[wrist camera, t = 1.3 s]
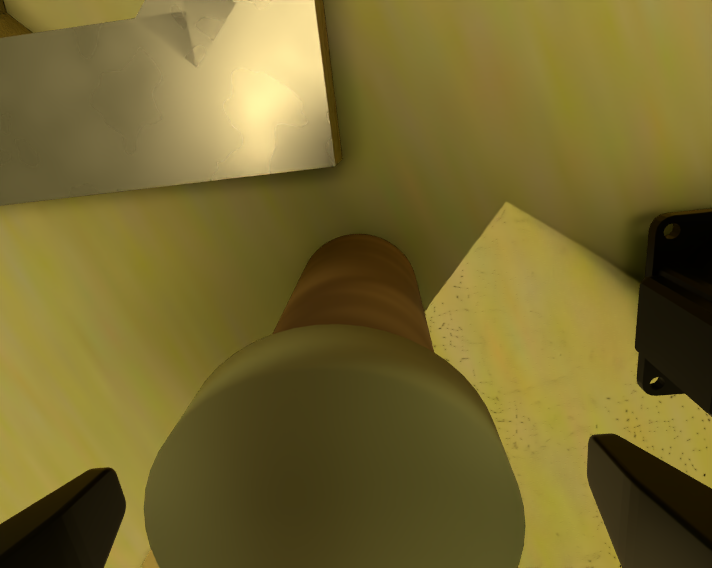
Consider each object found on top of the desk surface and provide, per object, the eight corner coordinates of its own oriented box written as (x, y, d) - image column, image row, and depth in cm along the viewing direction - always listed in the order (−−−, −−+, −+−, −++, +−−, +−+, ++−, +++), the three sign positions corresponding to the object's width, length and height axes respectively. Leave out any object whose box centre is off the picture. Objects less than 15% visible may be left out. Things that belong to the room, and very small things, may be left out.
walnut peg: (431, 205, 17) (524, 350, 6) (441, 353, 19) (525, 660, 8) (269, 223, 18) (96, 386, 7) (294, 365, 20) (192, 671, 9)
